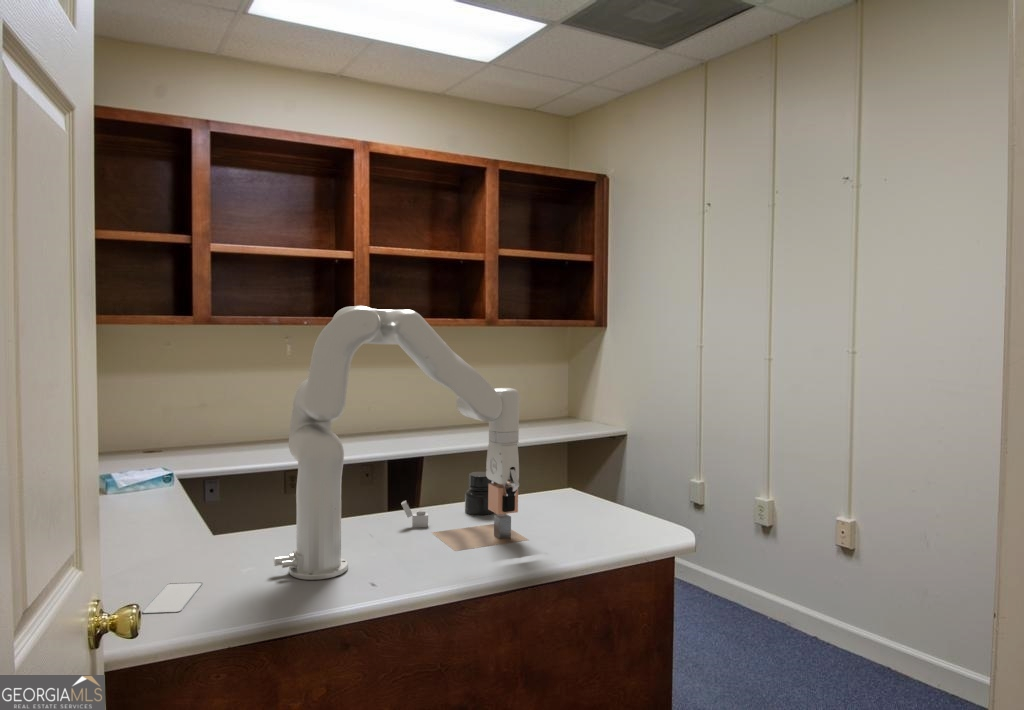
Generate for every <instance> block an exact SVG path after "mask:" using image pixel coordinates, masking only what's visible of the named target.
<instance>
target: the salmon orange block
mask: <svg viewBox="0 0 1024 710" xmlns="http://www.w3.org/2000/svg"><path fill="white" fill-rule="evenodd" d="M507 483H511V482H510V481H507ZM509 487H511V486H507V490H508V489H509ZM503 496H504V490H503V485H499V484H497V483H489V485H488V509H489V510H490V511H492V512H494V514H495V515H500V514H507V515H508V514H515V513H518V512H519V488H518V489H517V491H516V495H515V510H514V511H510V512H503V511H502V508H503Z"/></svg>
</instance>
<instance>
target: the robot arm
mask: <svg viewBox="0 0 1024 710" xmlns="http://www.w3.org/2000/svg"><path fill="white" fill-rule="evenodd" d="M363 344H369V345H370V344H372V345H398V346H399V347H400V348H401V349H402V350H403V352H404V353H405V354H406V355H407V356H408V357H409V358H410V359H411V360H412V361H413V362H414V363H415V364H416V365H417V366H418V367H419V369H420V370H421V371H422V372H423V373H424V374H425V375H426V376H427V377H428V378H430V379H431V380H433V382H436V383H437V384H439V385H441V386H443V387H445V388H447V389H449V390H450V391H451V392H453V393H454V395H456V396H457V397H456V401H455V405H456V409H457V411H458V412H459V413H460V414H461V415H462V416H464V417H466V418H470V419H472V420H477V421H481V422H484V423H488V444H487V445H488V446H487V450H486V451H487V453H486V461H485V463H486V467H485V472H486V477H487V478H488V479H489V480H490V482H491V483H497V484H499V485H503V490H504V496H503V508H502V511H503V512H510V511H514V510H515V495H516V491H517V489H518V490H519V487H520V483H519V479H520V462H519V461H520V459H519V448H518V447H519V446H518V444H519V439H520V438H519V435H520V433H519V432H520V431H519V429H520V427H519V426H520V425H519V424H520V420H519V419H520V393H519V391H518V390H517V389H516V388H512V387H497V388H493V386H492V385H491V384H490V383H489V382H488V380H487V379H486V378H484V376H482V374H481V373H480V372H478V370H476V369H475V368H474V367H472V365H470V364H469V363H467V362H466V361H465V360H464V359H463V358H462V357H461V356H460V355H458V354H457V353H456V352H455V351H454V350H452V349H451V347H449V345H448V344H447V342H446V341H444V340H443V338H442V337H441V336H440V335H439V334H438V333H437V332H436V330H434V328H433V327H432V326H431V325H430V324H429V323H428V322H427V321H426V320H425V318H424V317H423V316H422V315H421V314H420V313H418V312H417V311H415V310H412V309H377V308H372V307H369V306H365V305H354V306H350V305H349V306H345V307H343V308H341V309H339V310H337V312H336V313H335V314H334V315H333V317H332V319H331V321H329V322H328V323H327V325H326V326H324V328H323V329H322V330H321V331H320V333H319V334H318V336H317V338H316V340H315V343H314V346H313V349H312V354H311V358H310V365H309V369H308V377H307V378H306V379H305V380H304V381H302V382H301V383H300V384H299V385H298V387H297V389H296V390H295V393H294V397H293V402H292V410H291V417H290V425H289V435H288V447H289V448H288V449H289V452H290V454H291V456H292V457H293V458H294V460H296V461H297V463H298V465H297V475H296V477H297V479H296V494H295V499H296V500H295V501H296V548H293V549H292V550H293V551H292V553H288V555H284V556H283V555H281V556H274V557H273V564H274V565H273V566H274V567H278V566H281V568H282V569H285V568H288V571H289V575H290V576H292V577H293V578H296V579H299V580H307V581H308V580H309V581H310V580H311V581H315V580H316V581H318V580H325V579H326V580H327V579H330V578H335V577H338V576H340V575H342V574H344V573H346V572H347V570H348V569H349V561H347V559H345V558H343V557H342V476H343V468H344V461H345V451H344V446H343V443H342V440H341V439H340V437H338V435H337V434H336V433H334V432H333V431H332V429H333V422H335V421H336V420H337V419H339V418H340V417H341V416H342V414H343V413H344V411H345V408H346V402H347V393H348V385H349V384H348V383H349V377H350V370H351V364H352V361H353V358H354V356H355V355H354V354H355V353H356V352H357V351H358V349H359V348H360V347H361V346H362V345H363ZM507 482H510V483H507ZM507 486H511V487H509V489H508V490H507Z"/></svg>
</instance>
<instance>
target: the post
mask: <svg viewBox="0 0 1024 710" xmlns="http://www.w3.org/2000/svg"><path fill="white" fill-rule="evenodd" d="M493 524H494V536H495V537H496V538H498V539H506V538H511V530H512V516H511V515H508V514H500V515H497V514H493Z"/></svg>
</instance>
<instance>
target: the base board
mask: <svg viewBox="0 0 1024 710" xmlns="http://www.w3.org/2000/svg"><path fill="white" fill-rule="evenodd" d="M430 533H431V535H433V536H435V537H436V538H437V539H439V540H440V541H441V542H443V543H444V545H447V546H448V547H449V548H451V549H452V550H453V551H454V552H458V551H466V550H472V549H479V548H484V547H492V546H498V545H506V544H512V543H518V542H526V541H529V538H527V537H525V536H524V535H522V534H520V533H518V532H516V531H514V530H513V529H511V538H506V539H498V538H496V537H495V536H494V523H492V524H491V523H490V524H484V525H477V526H471V527H469V526H468V527H463V528H453V529H447V530H441V531H432V532H430Z"/></svg>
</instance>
